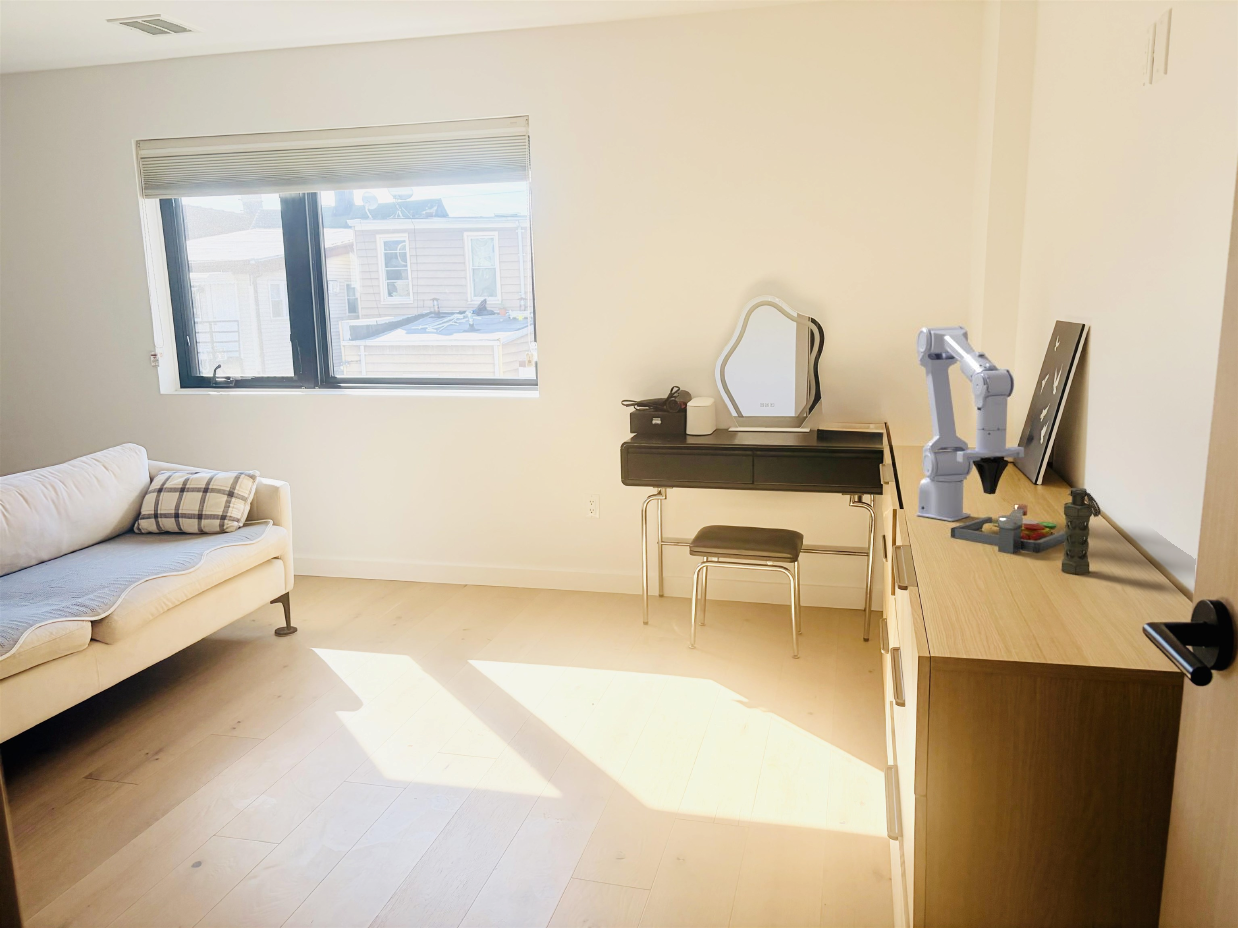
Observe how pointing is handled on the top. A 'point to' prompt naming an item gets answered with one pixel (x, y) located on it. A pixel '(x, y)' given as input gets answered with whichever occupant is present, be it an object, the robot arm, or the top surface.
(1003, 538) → the tray
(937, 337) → the robot arm
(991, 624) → the top surface
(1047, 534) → the toy food set
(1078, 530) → the grenade
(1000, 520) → the press arm
